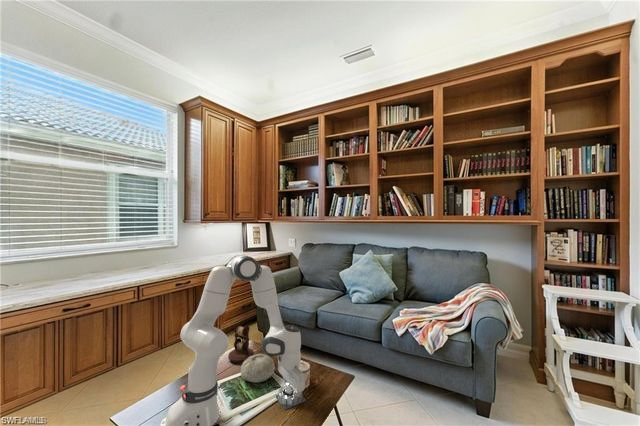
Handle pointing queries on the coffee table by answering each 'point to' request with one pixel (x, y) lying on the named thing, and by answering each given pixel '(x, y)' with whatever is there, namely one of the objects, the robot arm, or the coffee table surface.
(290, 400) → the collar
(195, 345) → the robot arm
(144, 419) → the coffee table surface
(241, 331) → the carved wooden figurine
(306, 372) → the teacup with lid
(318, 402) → the coffee table surface
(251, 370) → the decorative shell
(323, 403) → the coffee table surface
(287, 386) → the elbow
